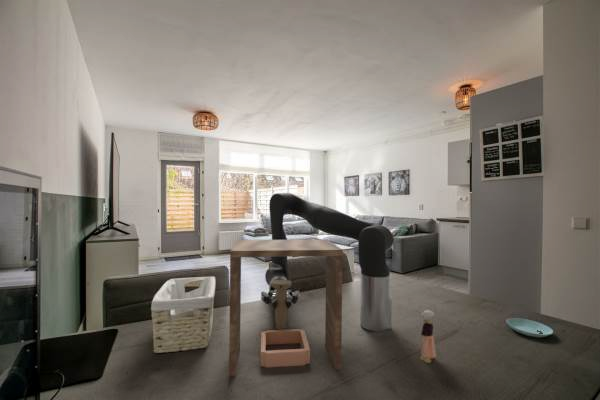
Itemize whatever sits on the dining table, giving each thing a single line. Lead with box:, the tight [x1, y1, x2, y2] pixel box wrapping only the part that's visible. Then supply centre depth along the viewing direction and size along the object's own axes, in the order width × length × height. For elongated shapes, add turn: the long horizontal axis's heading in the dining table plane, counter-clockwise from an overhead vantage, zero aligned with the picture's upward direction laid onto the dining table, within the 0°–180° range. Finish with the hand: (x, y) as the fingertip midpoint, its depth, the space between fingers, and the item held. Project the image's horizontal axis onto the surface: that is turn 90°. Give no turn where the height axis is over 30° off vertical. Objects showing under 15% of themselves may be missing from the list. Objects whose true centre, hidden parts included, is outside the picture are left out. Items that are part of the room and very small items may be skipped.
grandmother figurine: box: [419, 309, 437, 364], centre depth 76 cm, size 8×4×13 cm, turn 148°
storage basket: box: [150, 276, 216, 354], centre depth 88 cm, size 24×16×15 cm
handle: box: [272, 280, 292, 330], centre depth 93 cm, size 5×6×15 cm
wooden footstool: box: [228, 239, 343, 377], centre depth 78 cm, size 27×18×30 cm, turn 97°
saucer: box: [505, 317, 554, 338], centre depth 92 cm, size 12×12×2 cm
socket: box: [260, 328, 311, 368], centre depth 78 cm, size 12×12×4 cm
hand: (282, 305), depth 90 cm, fingers closed on handle, 3 cm apart
